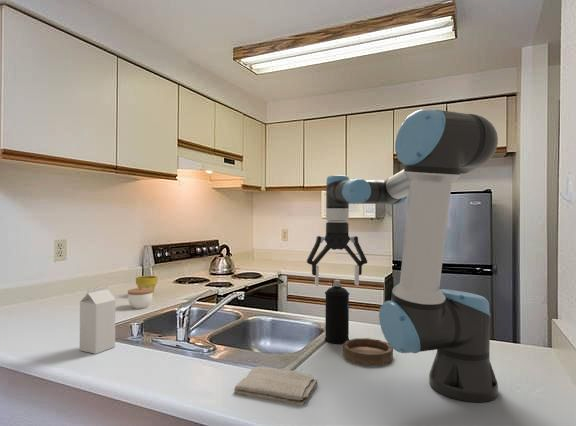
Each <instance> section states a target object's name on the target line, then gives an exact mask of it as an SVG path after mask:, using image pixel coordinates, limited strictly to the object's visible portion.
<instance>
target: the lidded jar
mask: <svg viewBox="0 0 576 426" xmlns="http://www.w3.org/2000/svg"><path fill="white" fill-rule="evenodd" d="M153 296H154V294H153V289H151V288H142V286H139V288H138V287H137V288H132V289H128V290H127V298H128V303H129V305H130V306H131V307H132V308H133V309H136V310H141V309H146V308H148V307H149V306H150V305H151V303H152V301H153V298H154V297H153Z"/></svg>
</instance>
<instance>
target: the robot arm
mask: <svg viewBox="0 0 576 426" xmlns="http://www.w3.org/2000/svg"><path fill="white" fill-rule="evenodd" d="M498 141H499V138H498V132H497V129H496V127H495V126H494V125H493V123H491V122H490V121H489V120H488V118H485V117H484V116H481V115H478V114H474V113H463V112H456V111H449V110H442V109H419V110H416V111H413V112H412V113H410V114H409V115H408V116H407V117H406V118H405V120H404V121H403V122H402V123H401V125H400V127H399V129H398V132H397V134H396V137H395V143H394V152H395V154H396V158H397V160H398V161H399V162H400V163H401V164H403V165H404V167H403V169H402V170H400V171H398V172H397V173H395V174H393V175H392V176H390V177H389V178H388V177H387V178H386V179H384V180H380V179H379V180H378V179H376V180H375V179H363V178H355V177H354V178H351V179H349V176H348V175H347V174H346V175H345V174H334V175H328V176H327V177H326V185H325V189H326V190H325V191H326V192H325V196H326V198H325V200H326V202H325V203H326V205H325V208H326V209H325V211H326V212H325V220H326V221H327V222H325V236H320V235H316V239H315V243H314V244H313V247H312V248H311V251H310V252H309V255H308V257H307V259H306V263H307V264H309V265H310V266H311V274H312V276H314V285H315V286H316V287H319V275H320V274H319V271H320V269H319V268H320V266H319V265H318V264H319V263H320V262H321V260H322V259H323V258H324V257H325V255H326V254H327V253H328V252H329V251H330V250H335V251H336V250H340V251H341V250H345V251H346V252H347V254H348V255H349V256H350V257H351V259H352V260H353V261H354V262H355V264H354V285H355V286H359V284H360V279H359V278H360V276H362V272H363V269H362V268H363V265H365V264H366V265H367V264H368V260H367V258H366V256H365V253H364V252H363V250H362V247H361V244H360V243H359V237H358V236H356V235H353V236H350V235H349V227H350V226H349V222H348V221H349V216H350V215H349V214H350V213H349V205H350V204H351V205H356V204H357V205H359V204H361V205H364V204H365V205H368V204H369V205H392V206H393V205H401V204H403V203H404V202H405V201H406V200H407V199H408V200H407V208H406V220H405V226H404V227H405V229H404V236H403V237H404V239H403V246H402V247H403V248H402V258H401V259H402V260H401V269H400V279H399V283H398V284H396V286H394V287H393V288H392V290H391V298H390V299H391V300H386V301H385V302H383V303H382V304H381V305H380V308H379V314H378V321H379V326H380V329H381V331H382V334H383V336H384V339H385V341H386V343H389V345H390V346H391V347H392V348H393V351H396V352H397V353H401V354H411V353H412V354H418V353H420V352H427V351H429V352H430V351H435V350H436V354H435V356H434V359H433V362H432V365H431V369H430V371H429V373H428V374H429V375H428V377H429V381H428V382H429V385H430V387H431V388H432V389H433V390H434V391H436V392H437V393H439V394H441V395H444V397H448V398H451V399H455V400H457V401H463V402H471V403H484V402H490V401H494V400H496V398H498V395H499V383H498V381H497V378H496V374H495V371H494V369H493V367H492V363H491V359H490V344H491V343H490V342H491V341H490V340H491V339H490V336H491V332H490V331H491V330H490V329H491V313H490V303H489V300H488V299H487V298H486V297H484V296H482V295H479V294H476V293H471V292H466V291H460V290H454V289H445V288H443V289H440V287H441V286H440V285H441V277H442V269H443V260H444V252H445V244H446V243H445V242H446V234H447V225H448V217H449V207H450V200H451V191H452V184H453V183H454V182H455V181H456V180H458V179H459V177H461V175H464V174H467V173H469V172H472V171H474V170H476V169H479V168H480V167H482V166H484V165H486V163H488V162H489V161H490V160H491V159H492V158H493V156H494V155H495V153H496V151H497V148H498V143H499V142H498ZM324 241H325V243H326V244H325V246H324V247H323V249H322V250H321V251H320V252H319V253H318V254H317V251H318V250H319V248H320V246H321V244H322V243H324ZM349 242H351V243H353V246H354V248H355V250H356V252H357V254H358V256H357V255H356V253H354V251H353V250H352V249H351V247H350V246H349ZM316 254H317V256H316ZM315 256H316V257H315ZM358 257H359V258H360V259H359V258H358Z"/></svg>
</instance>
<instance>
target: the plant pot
mask: <svg viewBox="0 0 576 426" xmlns="http://www.w3.org/2000/svg"><path fill="white" fill-rule="evenodd" d="M157 284H158V275H140V276H137V277H135V285H136V286H137V288H139V286H142V288H151V289H153V295H154V294H155V289H156V285H157Z"/></svg>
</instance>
